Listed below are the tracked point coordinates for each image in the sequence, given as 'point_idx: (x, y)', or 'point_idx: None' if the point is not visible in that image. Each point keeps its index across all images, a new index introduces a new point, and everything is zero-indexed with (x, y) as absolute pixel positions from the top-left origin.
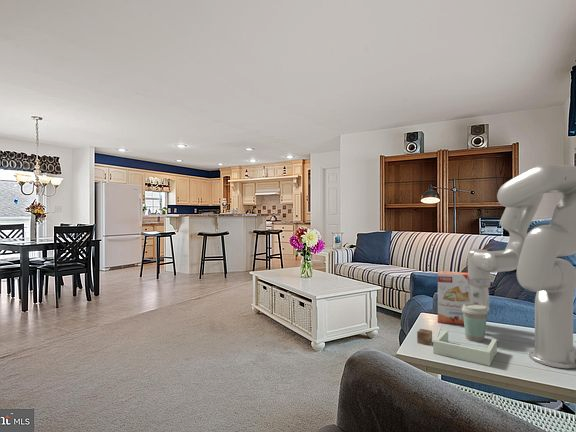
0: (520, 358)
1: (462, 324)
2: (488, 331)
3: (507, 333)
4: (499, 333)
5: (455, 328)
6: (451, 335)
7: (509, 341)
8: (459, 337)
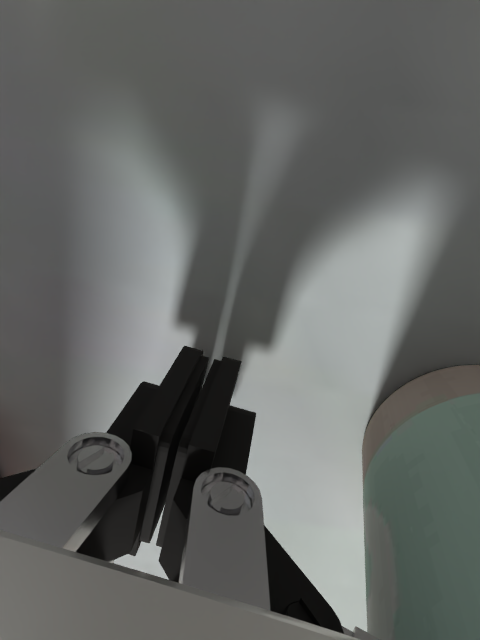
0: None
1: None
2: (87, 270)
3: (41, 10)
4: (102, 135)
5: (155, 564)
6: None
7: (449, 17)
8: None
